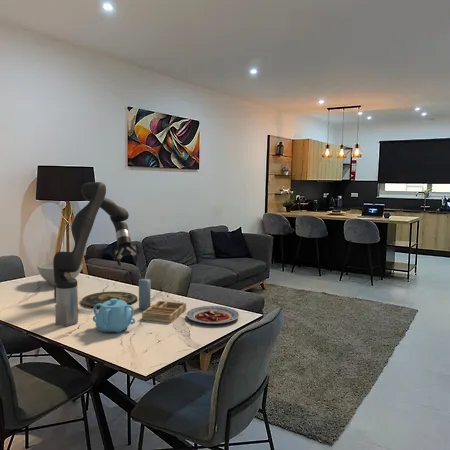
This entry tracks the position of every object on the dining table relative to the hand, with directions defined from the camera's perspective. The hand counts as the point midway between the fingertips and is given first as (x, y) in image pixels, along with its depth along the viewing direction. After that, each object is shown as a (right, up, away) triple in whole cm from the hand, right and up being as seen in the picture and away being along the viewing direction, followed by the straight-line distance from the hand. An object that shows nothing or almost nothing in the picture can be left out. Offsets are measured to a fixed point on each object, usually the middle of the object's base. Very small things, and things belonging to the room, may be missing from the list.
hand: (128, 263), depth 221 cm
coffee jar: (-37, -20, +5) cm, 43 cm away
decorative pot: (+3, -26, -38) cm, 46 cm away
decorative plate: (-11, -21, +3) cm, 24 cm away
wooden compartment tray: (+23, -24, -18) cm, 37 cm away
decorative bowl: (-52, -16, +39) cm, 67 cm away
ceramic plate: (+47, -25, -21) cm, 57 cm away
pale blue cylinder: (+11, -22, -9) cm, 26 cm away
